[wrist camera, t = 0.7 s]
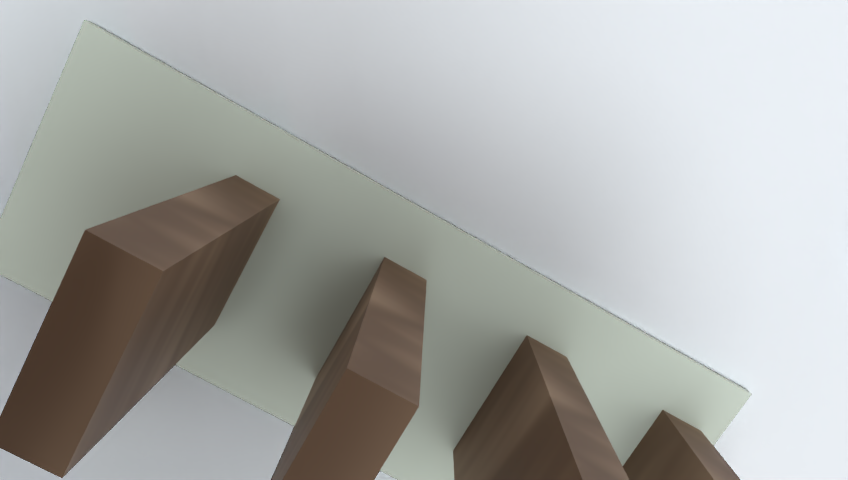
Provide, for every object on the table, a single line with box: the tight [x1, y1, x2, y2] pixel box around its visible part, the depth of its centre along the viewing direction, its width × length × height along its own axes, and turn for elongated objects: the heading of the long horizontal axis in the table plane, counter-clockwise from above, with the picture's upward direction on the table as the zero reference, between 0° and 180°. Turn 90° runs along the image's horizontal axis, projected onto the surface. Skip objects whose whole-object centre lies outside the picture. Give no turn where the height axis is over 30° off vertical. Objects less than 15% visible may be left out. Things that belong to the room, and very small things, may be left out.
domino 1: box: [0, 175, 280, 478], centre depth 17 cm, size 2×5×9 cm, turn 151°
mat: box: [0, 20, 751, 480], centre depth 22 cm, size 9×25×1 cm, turn 61°
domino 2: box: [271, 257, 427, 480], centre depth 17 cm, size 2×5×9 cm, turn 151°
